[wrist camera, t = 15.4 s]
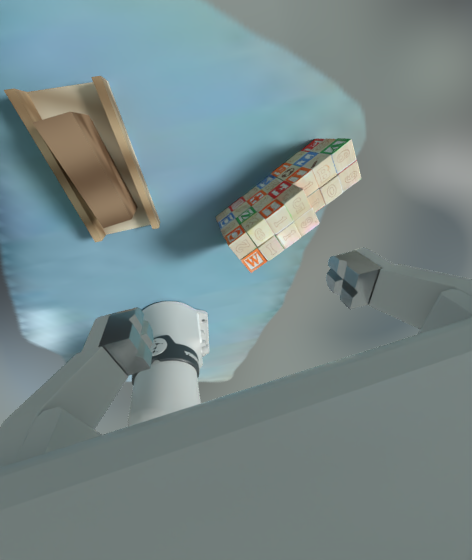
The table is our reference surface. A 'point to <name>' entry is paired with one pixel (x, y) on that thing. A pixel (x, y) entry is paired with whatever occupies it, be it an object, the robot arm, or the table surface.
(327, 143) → the stack of blocks
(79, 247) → the table surface
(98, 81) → the tan shallow tray
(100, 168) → the walnut block
